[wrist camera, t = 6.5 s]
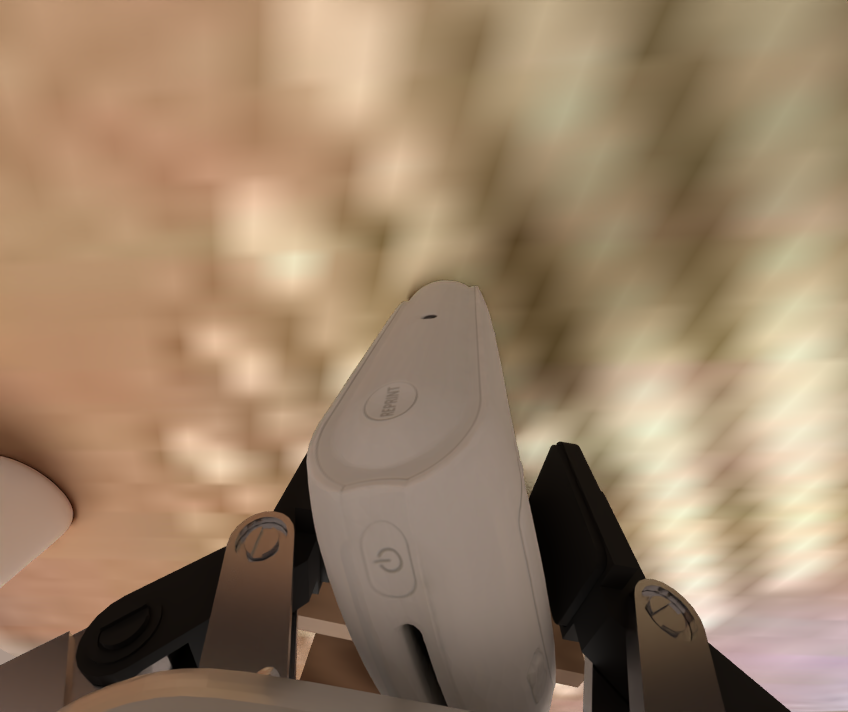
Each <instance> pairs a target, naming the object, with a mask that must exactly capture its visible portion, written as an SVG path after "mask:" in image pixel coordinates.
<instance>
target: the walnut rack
mask: <svg viewBox="0 0 848 712" xmlns="http://www.w3.org/2000/svg"><path fill="white" fill-rule="evenodd" d="M549 606H550V605H549ZM550 613H551V610H550ZM551 620H552V628H553V636H554V644H555V661H556V683H559V684H564V685H569V686H573V687H579V686H580V684H581V683H582V682H583V681H584V668H585V661H584V657H583V653H582V652H581V648H580V644H579V642H575V641H570V640H564V639H562V635H561V631H560V626H559V625H557V624H555V623H554V621H553V618H552V614H551ZM298 629H299V630H304V631H308V632H313V633H316V634H315V637H314V640H313V643H312V645H311V648H310V651H309V654H308V657H307V660H306V663H305V666H304V669H303V672H302V675H301V678H300V680H302V681H308V682H314V683H320V684H325V685H331V686H336V687H342V688H347V689H353V690H358V691H364V692H370V693H375V694H380V692H379V690H378V689H377V687H376V685H375V684H374V682H373V680H372V678H371V677H370V675H369V673H368V671H367V669H366V667H365V666H364V664H363V662H362V659H361V657H360V655H359V653H358V651H357V649H356V647H355V645H354V643H353V641H352V638H351V636H350V634H349V632H348V629H347V627H346V624H345V622H344V619H343V616H342V614H341V611H340V609H339V606H338V604H337V601H336V598H335V595H334V592H333V589H332V586H331V584H330V582H329V583H326V582H323V583H322V585H321V588H320V591H319V594H312V595H311V598H310V601H309V602H308V603H307V604H305V605H304V606H302V607H301V608H299V609H298Z"/></svg>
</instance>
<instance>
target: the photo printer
mask: <svg viewBox="0 0 848 712" xmlns="http://www.w3.org/2000/svg"><path fill="white" fill-rule="evenodd" d="M495 336H496V334H495V331H494V330H493V326H492V321H491V317H490V314H489V311H488V308H487V305H486V303H485V300H484V298H483V296H482V293H481V291H480V289H479V287H478V286H472V287H468V286H467V285H465V284H463V283H460V282H457V281H451V280H442V281H436V282H432V283H429V284H427V285H425V286H423V287H422V288H420V289H419V290H418V291H417V292H416V293H415V294H414V295H413V296H412V298H411V299H410V300H409V301H404V302H402V303H401V304H400V305H399V306H398V307H397V308H396V310H395V311H394V313H393V314H392V315H391V316H390V318H389V320H388V321H387V323H386V324H385V325H384V327H383V328H382V330H381V331H380V333H379V334H378V336H377V338H376V339H375V340H374V342H373V343H372V345H371V346H370V348H369V349H368V351H367V352H366V354H365V355H364V357H363V358H362V360H361V361H360V362H359V364H358V365H357V367H356V368H355V370H354V371H353V373H352V374H351V376H350V377H349V379H348V380H347V382H346V383H345V385H344V387H343V388H342V390H341V391H340V393H339V394H338V396H337V397H336V399H335V400H334V402H333V403H332V405H331V406H330V408H329V409H328V411H327V412H326V413H325V415H324V416H323V418H322V419H321V421H320V422H319V424H318V426H317V428H316V430H315V431H314V433H313V436H312V438H311V441H310V444H309V448H308V452H307V461H306V463H307V472H308V486H309V494H310V501H311V509H312V515H313V521H314V526H315V531H316V535H317V540H318V543H319V547H320V551H321V554H322V558H323V561H324V564H325V568H326V572H327V575H328V578H329V581H330V584H331V586H332V589H333V592H334V595H335V598H336V601H337V604H338V606H339V609H340V611H341V614H342V616H343V619H344V622H345V624H346V627H347V629H348V632H349V634H350V636H351V638H352V641H353V643H354V645H355V647H356V649H357V651H358V653H359V655H360V657H361V659H362V662H363V664H364V666H365V667H366V669H367V671H368V673H369V675H370V677H371V678H372V680H373V682H374V684H375V685H376V687H377V689H378V690H379V692H380V694H381V695H386V696H392V697H397V698H403V699H408V700H414V701H419V702H425V703H430V704H435V705H441V706H446V707H452V708H457V709H462V710H468V711H473V712H549V710H550V706H551V701H552V695H553V690H554V687H555V684H556V661H555V644H554V636H553V628H552V620H551V613H550V606H549V600H548V595H547V589H546V582H545V576H544V571H543V566H542V561H541V556H540V551H539V546H538V542H537V537H536V532H535V527H534V523H533V518H532V513H531V509H530V504H529V499H528V495H527V490H526V485H525V481H524V474H523V466H522V463H521V461H520V457H519V452H518V447H517V442H516V437H515V433H514V428H513V423H512V418H511V413H510V408H509V403H508V397H507V392H506V387H505V381H504V376H503V371H502V366H501V361H500V356H499V351H498V347H497V342H496V338H495Z"/></svg>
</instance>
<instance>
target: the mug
mask: <svg viewBox="0 0 848 712" xmlns="http://www.w3.org/2000/svg"><path fill="white" fill-rule="evenodd" d="M72 520H73V509H72V506H71V504H70V502H69V500H68V499H67V497H66V496H65V494H64V493H63V492H62V491H61V490H60V489H59V488H58V487H57V486H56V485H55V484H54V483H53V482H52V481H51V480H49V479H48V478H47V477H45V476H44V475H42V474H41V473H39V472H38V471H36V470H34V469H33V468H31V467H29V466H27V465H25V464H23V463H20V462H18V461H16V460H13V459H10V458H6V457H3V456H0V588H1V587H2V586H3V585H4V584H6V583H7V582H8V581H9V580H10V579H12V578H13V577H14V576H15V575H16V574H17V573H19V572H20V571H21V570H22V569H23V568H25V567H26V566H27V565H28V564H29V563H31V562H32V561H33V560H34V559H35V558H36V557H38V556H39V555H40V554H41V553H42V552H44V551H45V550H46V549H47V548H48V547H49V546H51V545H52V544H53V543H54V542H55V541H56V540H57V539H59V538H60V537H61V536H62V535H63V534H64V533H65V532H66V531H67V529H68V528H69V526H70V525H71V523H72Z"/></svg>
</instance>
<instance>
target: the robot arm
mask: <svg viewBox="0 0 848 712" xmlns="http://www.w3.org/2000/svg"><path fill="white" fill-rule="evenodd" d="M306 461H307V454H306V455H305V457H304V459H303V461H302V462H301V464H300V466H299V468H298V469H297V471H296V473H295V475H294V476H293V478H292V480H291V481H290V483H289V485H288V487H287V488H286V490H285V492H284V494H283V495H282V497H281V499H280V501H279V502H278V504H277V506H276V507H275V509H274V511H268V512H262V513H258V514H255V515H253V516H251V517H249V518H247V519H246V520H244V521H243V522H242V523H241V524H239V525H238V526H237V527H236V529H235V530H234V531H233V533H232V534H231V536H230V538H229V541H228V543H227V546H226V547H224V548H222V549H220V550H217V551H215V552H213V553H211V554H209V555H207V556H205V557H203V558H201V559H199V560H197V561H195V562H193V563H191V564H189V565H187V566H185V567H183V568H181V569H179V570H177V571H175V572H173V573H171V574H169V575H167V576H164V577H162V578H160V579H158V580H156V581H154V582H152V583H150V584H148V585H146V586H144V587H142V588H140V589H138V590H136V591H134V592H132V593H130V594H128V595H126V596H124V597H122V598H121V599H119V600H117V601H116V602H114V603H112V604H111V605H110V606H109V607H107V608H106V609H105V610H104V611H103V612H101V613H100V614H99V615H98V616H97V617H96V618H95V619H94V621H93V622H92V623H91V624H90V625H89V627H88V628H86V629H84V630H82V631H80V632H78V633H76V634H74V635H72V634H71V633H70V631H69V632H67V633H65V634H63V635H61V636H59V637H57V638H55V639H52V640H50V641H48V642H46V643H44V644H42V645H40V646H38V647H36V648H34V649H32V650H30V651H28V652H26V653H24V654H22V655H20V656H18V657H16V658H14V659H12V660H10V661H8V662H6V663H4V664H2V665H0V712H473V711H468V710H462V709H457V708H452V707H446V706H441V705H435V704H430V703H425V702H419V701H414V700H408V699H403V698H397V697H392V696H386V695H381V694H375V693H370V692H364V691H358V690H353V689H347V688H342V687H336V686H331V685H325V684H320V683H314V682H308V681H302V680H296V659H297V630H298V609H299V608H301V607H302V606H304V605H305V604H307V603H308V602H309V601H310V598H311V595H312V594H319V591H320V588H321V585H322V583H323V582H326V583H329V582H330V581H329V578H328V575H327V572H326V568H325V564H324V561H323V558H322V554H321V551H320V547H319V543H318V540H317V535H316V531H315V526H314V521H313V515H312V509H311V501H310V494H309V486H308V472H307V463H306ZM529 504H530V509H531V513H532V518H533V523H534V527H535V532H536V537H537V542H538V546H539V551H540V556H541V561H542V566H543V571H544V576H545V582H546V589H547V595H548V600H549V605H550V610H551V614H552V618H553V621H554V623H555V624H557V625H559V626H560V631H561V635H562V639H564V640H570V641H575V642H579V644H580V648H581V652H582V653H583V654H584V655H585V668H584V695H583V712H791V711H790V710H788V709H787V708H786V707H785V706H784V705H782V704H781V703H780V702H779V701H778V700H776V699H775V698H774V697H773V696H772V695H770V694H769V693H768V692H767V691H766V690H764V689H763V688H762V687H761V686H760V685H759V684H757V683H756V682H755V681H754V680H753V679H751V678H750V677H749V676H748V675H747V674H745V673H744V672H743V671H742V670H741V669H739V668H738V667H737V666H736V665H735V664H733V663H732V662H731V661H730V660H729V659H727V658H726V657H725V656H724V655H723V654H721V653H720V652H719V651H718V650H717V649H715V648H714V647H713V646H712V645H711V644H709V643H708V640H707V636H706V632H705V629H704V627H703V624H702V622H701V619H700V618H699V616H698V614H697V613H696V611H695V610H694V608H693V607H692V606H691V605H690V604H689V603H688V601H687V600H686V599H685V598H684V597H683V596H681V595H680V594H679V593H678V592H677V591H676V590H674V589H673V588H671V587H670V586H668V585H666V584H665V583H663V582H660V581H657V580H654V579H646V578H645V576H644V574H643V572H642V570H641V568H640V566H639V564H638V562H637V560H636V558H635V556H634V554H633V552H632V550H631V548H630V546H629V544H628V542H627V540H626V537H625V535H624V533H623V531H622V529H621V527H620V525H619V523H618V521H617V519H616V517H615V515H614V513H613V511H612V509H611V507H610V505H609V503H608V501H607V499H606V497H605V495H604V494H603V492H602V491H601V490H600V488H599V486H598V484H597V482H596V480H595V478H594V476H593V474H592V472H591V470H590V468H589V466H588V464H587V462H586V459H585V457H584V455H583V453H582V451H581V449H580V447H579V446H578V445H577V444H571V443H565V442H558V443H557V445H552V446H551V448H550V450H549V453H548V455H547V457H546V460H545V462H544V464H543V467H542V469H541V471H540V474H539V476H538V478H537V481H536V483H535V485H534V488H533V490H532V492H531V495H530V497H529Z"/></svg>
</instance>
